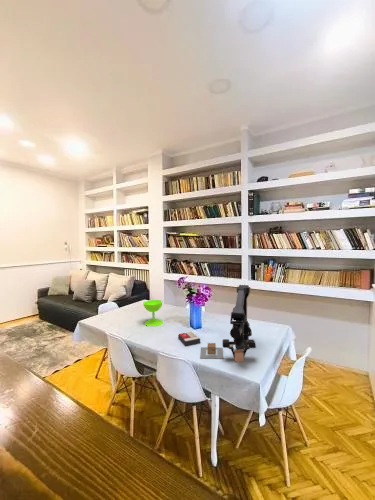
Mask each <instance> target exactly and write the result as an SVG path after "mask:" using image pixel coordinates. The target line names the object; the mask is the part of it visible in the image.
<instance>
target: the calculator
mask: <svg viewBox="0 0 375 500" xmlns="http://www.w3.org/2000/svg"><path fill="white" fill-rule="evenodd" d="M177 337H178V340H179V341H180V343H182V345H184V347H190V346H195V345H200V344H201V337H199V336H197V335H196V334H195V333H194V332H192V331H188V332H182V333H179V334H178V336H177Z"/></svg>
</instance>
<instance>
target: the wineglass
mask: <svg viewBox="0 0 375 500" xmlns="http://www.w3.org/2000/svg"><path fill="white" fill-rule="evenodd" d="M162 305H163V301H162V300H159V299H149V300H146V301H143V307H144V309H145V310H146V311H148V312H150V313H151V315H152V316H151V317H152V319H149V320H146V321H145V322H144V323H145V325H144V326H146V325H147V326H146V327H149V326H154V327H159V326H161V324H162V325H163V324H164V321H163V320H162V319H158V318H156V317H155V316H156V315H155V312H158V311H159V310H160V309H161V308H162V307H163V306H162Z"/></svg>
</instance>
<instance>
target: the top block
mask: <svg viewBox="0 0 375 500" xmlns="http://www.w3.org/2000/svg"><path fill="white" fill-rule="evenodd" d="M234 354H235V358H234V361H235V362H245V360H244V359H245V356H244V353H243V350H236V348H234Z"/></svg>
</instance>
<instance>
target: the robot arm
mask: <svg viewBox="0 0 375 500" xmlns="http://www.w3.org/2000/svg"><path fill="white" fill-rule="evenodd" d="M236 293H237V296H236V302H235V306H234V307H233V309H232V311H231V312H230V322H229V324H230V325H232V327H231V328H230V332H229V335H230V336H231V338H233V340H232V341H231V340H230V339H229V338H226V339H225V338H224V339H222V340H221V341H222V348H223V349H224V348H225V349H229V350H230V351H231V352H232V356H233V359H235V354H234V349H236V350H243V353H244V357H245V355H246V353H247V351H248V350H250V349H256V342H255V340H254V339H249V338H250V337H252V336H253V332H252V328H251V327H250V323H249V320H248V298H249V295H250V293H251V286H249V284H239V285H238V286H236ZM234 346H235V348H234Z"/></svg>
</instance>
